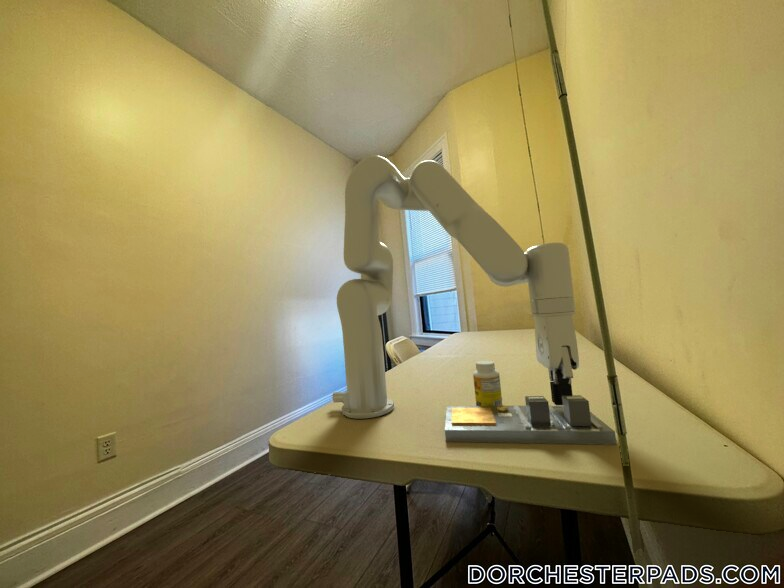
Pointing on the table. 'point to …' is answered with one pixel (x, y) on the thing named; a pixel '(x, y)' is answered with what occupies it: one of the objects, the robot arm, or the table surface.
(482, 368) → the supplement bottle
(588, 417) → the block
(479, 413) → the panel
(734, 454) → the table surface
